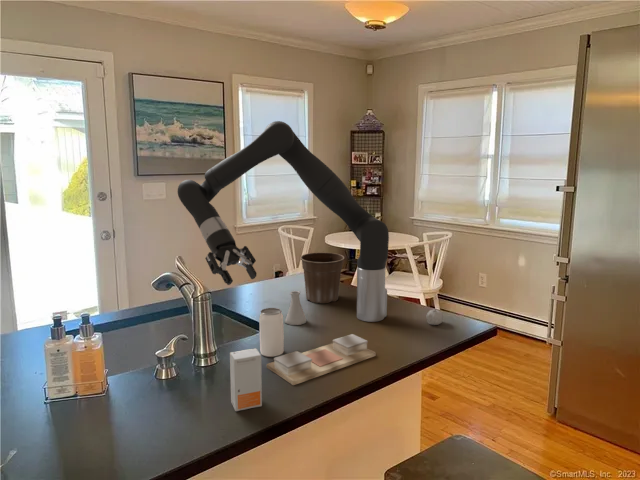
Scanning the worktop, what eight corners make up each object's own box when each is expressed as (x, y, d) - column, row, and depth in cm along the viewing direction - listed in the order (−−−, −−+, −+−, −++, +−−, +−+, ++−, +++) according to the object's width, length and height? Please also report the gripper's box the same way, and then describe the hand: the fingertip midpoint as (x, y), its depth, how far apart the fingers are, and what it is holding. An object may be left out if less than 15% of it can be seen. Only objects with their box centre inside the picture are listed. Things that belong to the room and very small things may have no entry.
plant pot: (344, 305, 172) (345, 261, 169) (299, 305, 172) (299, 261, 169) (343, 292, 188) (343, 252, 185) (302, 292, 188) (301, 252, 185)
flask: (280, 324, 154) (280, 294, 152) (290, 317, 160) (289, 288, 158) (301, 327, 151) (300, 296, 149) (310, 319, 158) (310, 290, 156)
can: (280, 358, 128) (279, 315, 126) (257, 356, 129) (255, 314, 127) (286, 349, 134) (285, 308, 132) (264, 347, 135) (263, 306, 133)
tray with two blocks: (346, 342, 139) (346, 330, 138) (375, 355, 130) (375, 343, 129) (266, 367, 123) (266, 354, 122) (293, 385, 113) (293, 371, 113)
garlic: (436, 328, 149) (436, 312, 149) (421, 323, 153) (422, 308, 153) (447, 324, 153) (447, 308, 152) (433, 319, 157) (433, 304, 156)
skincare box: (235, 412, 102) (233, 359, 99) (230, 403, 105) (228, 352, 103) (263, 406, 104) (261, 354, 102) (257, 397, 108) (256, 347, 106)
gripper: (201, 230, 134) (227, 277, 129) (241, 225, 144) (267, 268, 139) (191, 246, 139) (216, 292, 133) (231, 240, 149) (256, 282, 143)
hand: (242, 280), depth 136 cm, fingers open, 8 cm apart
